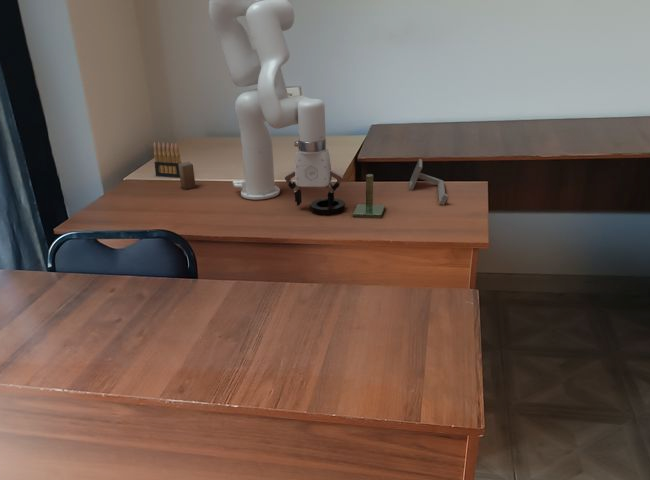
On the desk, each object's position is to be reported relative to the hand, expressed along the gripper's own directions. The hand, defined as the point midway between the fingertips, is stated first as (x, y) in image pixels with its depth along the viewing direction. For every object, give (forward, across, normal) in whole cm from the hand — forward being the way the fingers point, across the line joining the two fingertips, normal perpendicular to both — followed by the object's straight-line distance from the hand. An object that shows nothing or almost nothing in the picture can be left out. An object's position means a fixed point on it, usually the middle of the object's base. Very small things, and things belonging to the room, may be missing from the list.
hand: (314, 204), depth 198 cm
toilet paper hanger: (+2, +31, +18) cm, 36 cm away
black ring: (+2, +4, 0) cm, 4 cm away
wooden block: (+1, -48, +18) cm, 51 cm away
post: (+2, +16, -1) cm, 16 cm away
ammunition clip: (+1, -60, +30) cm, 67 cm away
